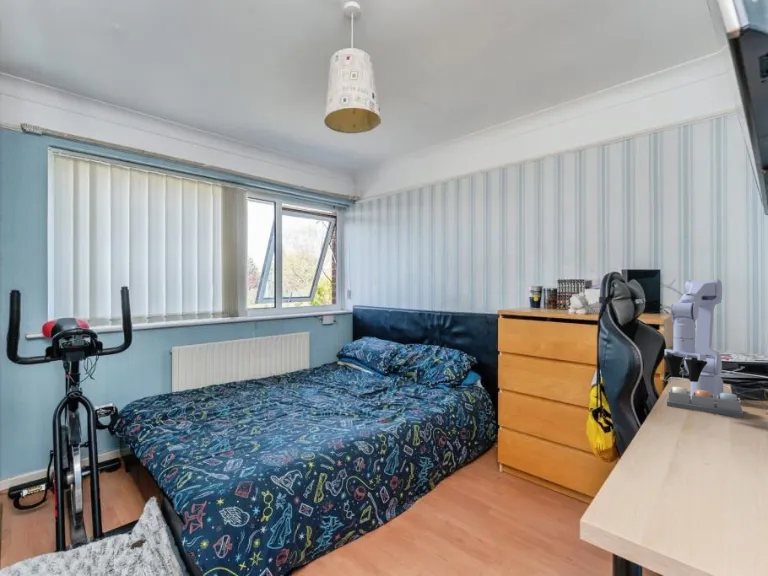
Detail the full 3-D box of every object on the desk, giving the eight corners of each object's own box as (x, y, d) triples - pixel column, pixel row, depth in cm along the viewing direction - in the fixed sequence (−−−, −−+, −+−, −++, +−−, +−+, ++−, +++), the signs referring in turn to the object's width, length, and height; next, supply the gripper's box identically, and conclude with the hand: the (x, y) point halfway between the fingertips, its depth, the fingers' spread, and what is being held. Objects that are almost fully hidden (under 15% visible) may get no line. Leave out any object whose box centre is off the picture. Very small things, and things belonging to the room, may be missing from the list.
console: (667, 405, 127) (666, 392, 127) (669, 400, 134) (669, 387, 134) (743, 418, 114) (742, 403, 114) (741, 411, 121) (741, 397, 121)
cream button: (671, 396, 128) (671, 388, 128) (672, 394, 131) (672, 385, 131) (686, 398, 125) (686, 390, 125) (687, 396, 128) (687, 387, 128)
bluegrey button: (720, 403, 120) (719, 394, 120) (720, 401, 123) (719, 392, 123) (737, 406, 117) (736, 396, 117) (736, 403, 120) (736, 394, 120)
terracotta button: (695, 400, 124) (695, 391, 124) (695, 397, 127) (695, 388, 127) (711, 402, 121) (710, 393, 121) (711, 399, 124) (711, 390, 124)
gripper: (656, 336, 130) (655, 374, 130) (690, 339, 116) (690, 383, 115) (675, 337, 130) (675, 375, 130) (712, 340, 116) (712, 384, 115)
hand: (684, 379), depth 122 cm, fingers open, 7 cm apart
